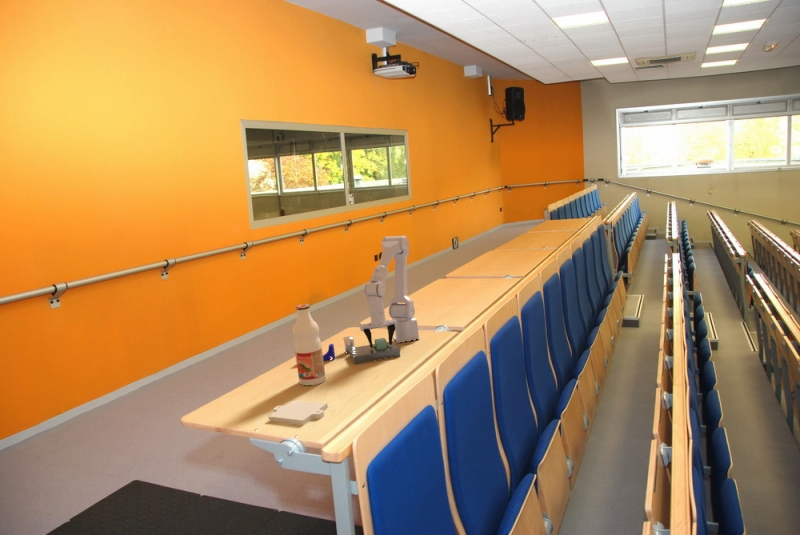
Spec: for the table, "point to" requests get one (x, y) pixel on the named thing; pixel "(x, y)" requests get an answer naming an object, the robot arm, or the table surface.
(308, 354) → the fruit juice
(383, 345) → the square peg
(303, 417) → the mounting plate
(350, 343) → the round peg
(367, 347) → the bore block
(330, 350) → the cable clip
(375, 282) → the robot arm
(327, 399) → the table surface
